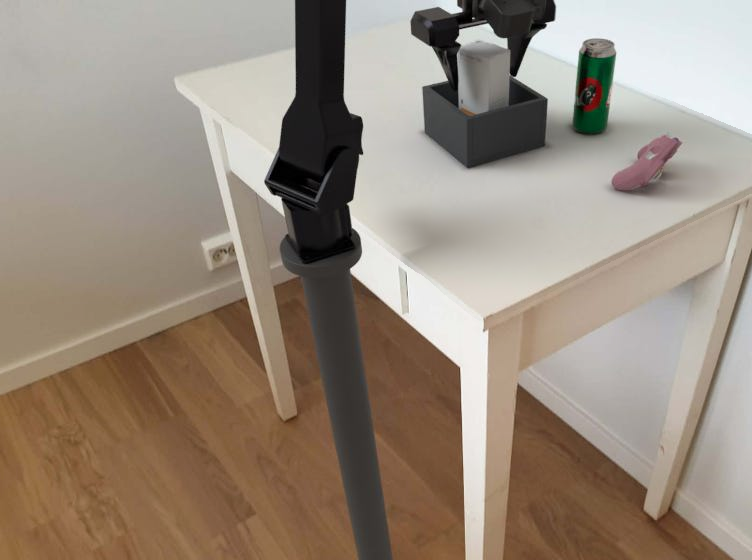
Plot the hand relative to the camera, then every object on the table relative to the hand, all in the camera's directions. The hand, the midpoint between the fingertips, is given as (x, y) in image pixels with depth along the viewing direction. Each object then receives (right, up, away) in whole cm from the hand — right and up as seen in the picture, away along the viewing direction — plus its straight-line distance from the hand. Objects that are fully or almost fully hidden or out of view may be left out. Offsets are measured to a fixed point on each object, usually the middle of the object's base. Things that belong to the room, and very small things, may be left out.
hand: (484, 83), depth 99 cm
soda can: (+16, -4, +8) cm, 18 cm away
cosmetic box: (0, -6, +5) cm, 7 cm away
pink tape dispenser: (+21, -14, -4) cm, 26 cm away
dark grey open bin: (0, -6, +5) cm, 8 cm away
